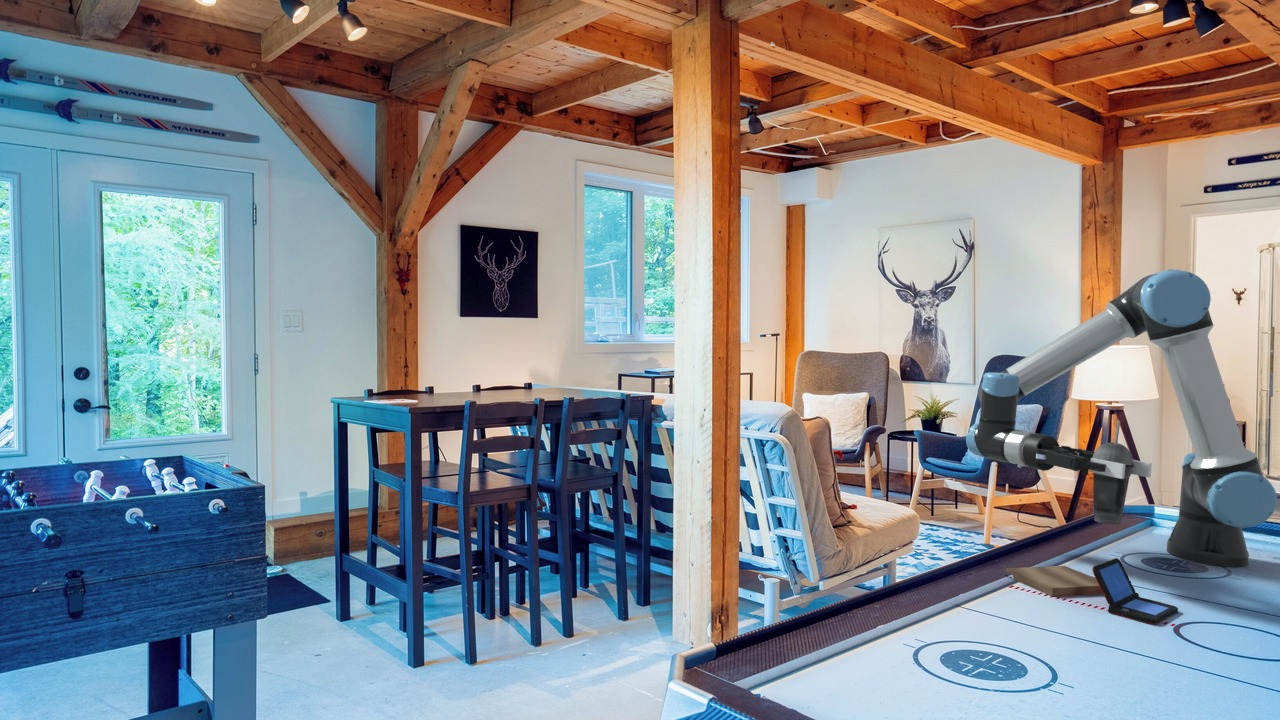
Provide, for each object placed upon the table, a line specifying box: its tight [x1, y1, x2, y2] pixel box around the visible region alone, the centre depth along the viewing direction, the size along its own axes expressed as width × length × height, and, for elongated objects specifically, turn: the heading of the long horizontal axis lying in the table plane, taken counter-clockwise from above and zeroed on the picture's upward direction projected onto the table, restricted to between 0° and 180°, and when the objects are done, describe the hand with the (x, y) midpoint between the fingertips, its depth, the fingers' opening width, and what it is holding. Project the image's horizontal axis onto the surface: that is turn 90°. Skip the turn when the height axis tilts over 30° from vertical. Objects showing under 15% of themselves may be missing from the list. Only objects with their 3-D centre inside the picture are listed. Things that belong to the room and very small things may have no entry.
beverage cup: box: [1092, 420, 1134, 526], centre depth 164 cm, size 7×7×20 cm
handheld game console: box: [1092, 557, 1179, 625], centre depth 148 cm, size 12×11×7 cm
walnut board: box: [1005, 565, 1103, 597], centre depth 161 cm, size 14×12×2 cm
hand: (1136, 470), depth 159 cm, fingers closed on beverage cup, 7 cm apart
